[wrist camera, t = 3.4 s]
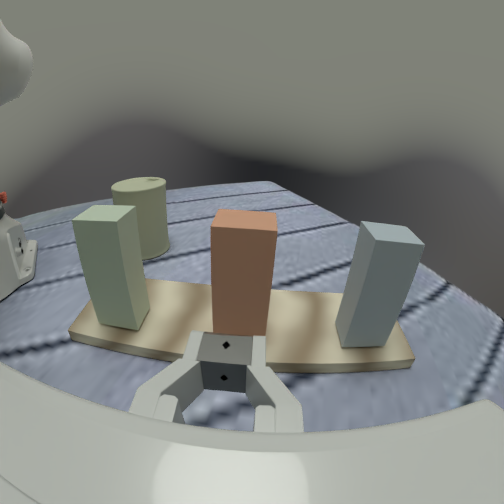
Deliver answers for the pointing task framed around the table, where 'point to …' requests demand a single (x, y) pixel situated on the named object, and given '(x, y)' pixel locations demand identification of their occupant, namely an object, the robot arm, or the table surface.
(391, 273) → the slate key
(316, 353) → the wooden board
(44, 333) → the table surface
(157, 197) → the can
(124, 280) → the sage key
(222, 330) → the terracotta key
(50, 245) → the table surface
